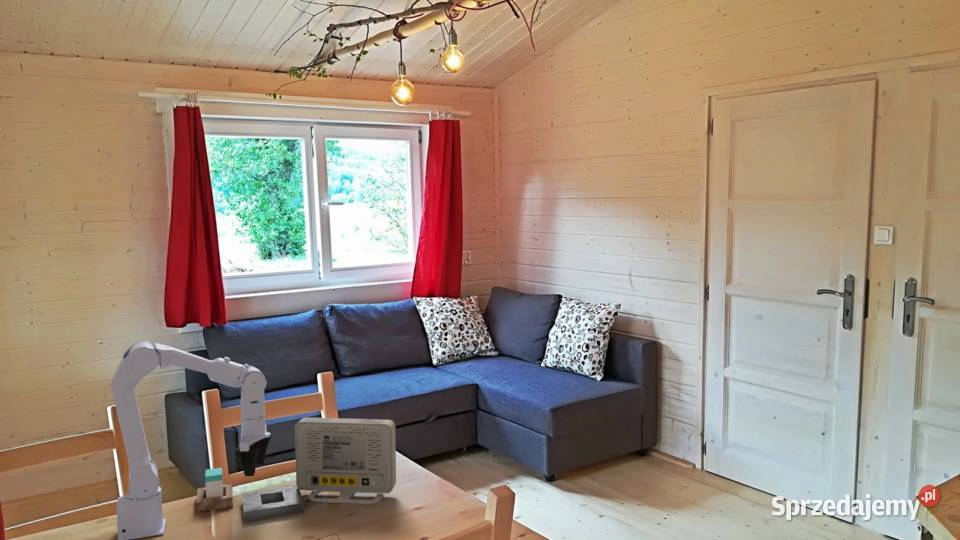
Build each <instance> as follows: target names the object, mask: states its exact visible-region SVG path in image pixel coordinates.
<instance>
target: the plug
mask: <svg viewBox="0 0 960 540" xmlns="http://www.w3.org/2000/svg"><path fill="white" fill-rule="evenodd" d="M204 476H205V477H204V478H205V487H206V499H208V498H215V497H222V496H223V485H224V479H223V476H224V475H223V467H216V468H208V469H205V474H204Z"/></svg>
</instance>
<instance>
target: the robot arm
mask: <svg viewBox="0 0 960 540" xmlns="http://www.w3.org/2000/svg"><path fill="white" fill-rule="evenodd" d="M158 366H159V367H160V369H161V370H162V369H165V368H169V367H171V366H175V367H180V368H183V369H188V370H192V371H195V372H199V373H202V374H203V373H204V374H206V375H207V377H208V379H209V380H210V381H212V382H215V383H218V384H222V385H224V386H228V387H232V388H234V389H235V388H240V429H241V432H240V433H241V434H240V443H239V446H238V447H236V448H235V450H234V453H235V455H236V456H237V458H238V459H239V462H240V463H241V468H242V470H243V474H244V477H254V476H255V474H256V468H257V467H256V465H257V466H261V465H262V466H263V465H264V464H265V461H266V457H267V450H268V447H269V444H270V442H271V439H272V433H271V432H268V431H267V430H268V428H267V426H268V425H267V424H266V403H265V402H266V398H265V389H266V387H267V382H268V381H267V380H266V376H265V375H264V373H262V372H261V369H259V368H257V367H255V366H254V365H249V364H248V363H244V364H241V363H238V362H234V361H231V358H230V357H228V356H224V357H223V358H222V357H217V358H215V359H212V360H210V359H208V358H205V357H202V356H199V355H196V354H193V353H191V352H188V351H184V350H182V349H179V348H175V347H172V346H170V345H166V344H162V343H157V342H155V343H152V342H151V341H148V340H139V341H136V342H133V344H131V345H130V347H128V349H126V351H125V352H124V353H122V358H121V360H120V361H119V364H118V366H117V369H116V371H114V372H115V373H114V375H112V376H113V377H112V378H111V383H110V385H111V386H110V388H111V392H112V398H113V400H114V406H115V409H116V413H117V419H118V422H119V427H120V431H121V436H122V439H123V444H124V448H125V454H126V456H127V462H128V475H127V476H128V479H129V480H128V491H127V493H126V494H125V495H122V496H119V497H117V500H116V529H117V540H135V539H141V538H147V537H149V538H150V537H154V536H155V537H156V536H160V535H161V536H162V535H163V534H164V533H165V529H166V523H167V519H166V518H164V517H163V516H164V515H163V500H162V499H163V498H162V495H163V494H162V487H161V486H160V478H159V475H158V474H159V473H158V472H159V468H158V466H157V464H156V462H154V461H153V460H152V458H151V454H150V450H149V447H148V442H147V438H146V437H147V436H146V434H145V429H144V425H143V420H142V415H141V411H140V406H139V402H138V401H139V400H138V397H137V394H136V393H137V392H136V387H137V385H138V384H139V383H140V382H141V381H142V380H143V378H145V377H146V376H148V375H150V374H151V373H153V372H154V371H155V370H156V368H158Z"/></svg>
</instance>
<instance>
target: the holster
mask: <svg viewBox="0 0 960 540" xmlns="http://www.w3.org/2000/svg"><path fill="white" fill-rule="evenodd" d="M196 489H197V492H196V513H200V511H202V512H207V510H208V511H214V509H215V510H221V509H220V508H222V509H226V508H233V507H234V503H233V501H234V499H233V484H232V483H227V484H223V496H222V497H215V498H208V499H204V498H206V486H205V487H198V488H196Z"/></svg>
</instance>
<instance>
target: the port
mask: <svg viewBox="0 0 960 540" xmlns="http://www.w3.org/2000/svg"><path fill="white" fill-rule="evenodd" d="M241 502H242V513H243V515H242V516H243V522H244V523H247V522H254V521H261V520H266V519H273V518H279V517H285V516H292V515H298V514H304V513H305V505H304V503H305V502H304V499H303V496H302V493H301V490H300V489H299V488H298V487H297V485H290V486H289V485H288V486H282V487H275V488H269V489H263V490H256V491H248V492H242V493H241Z"/></svg>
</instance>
